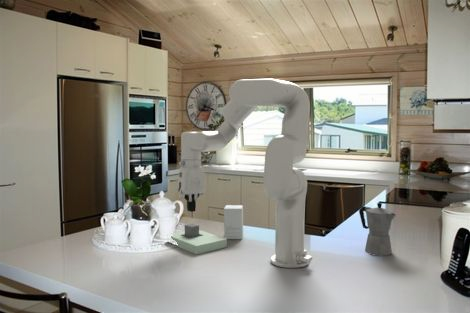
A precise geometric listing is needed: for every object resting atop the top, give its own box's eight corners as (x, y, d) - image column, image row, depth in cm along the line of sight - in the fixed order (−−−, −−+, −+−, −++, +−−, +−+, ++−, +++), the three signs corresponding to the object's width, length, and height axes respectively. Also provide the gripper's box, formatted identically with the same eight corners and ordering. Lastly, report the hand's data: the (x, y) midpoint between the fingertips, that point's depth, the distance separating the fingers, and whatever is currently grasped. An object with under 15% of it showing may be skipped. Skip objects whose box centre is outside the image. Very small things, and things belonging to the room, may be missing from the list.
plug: (199, 243, 160) (199, 225, 160) (191, 245, 158) (191, 227, 157) (191, 240, 163) (191, 223, 163) (184, 242, 161) (184, 224, 160)
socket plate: (226, 246, 155) (226, 239, 155) (196, 254, 146) (196, 246, 146) (196, 236, 170) (196, 228, 170) (166, 242, 161) (166, 234, 161)
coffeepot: (402, 254, 146) (404, 204, 145) (385, 259, 141) (387, 207, 140) (366, 244, 159) (368, 197, 158) (350, 248, 154) (351, 200, 152)
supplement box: (243, 234, 172) (243, 205, 172) (242, 239, 165) (242, 208, 164) (226, 234, 173) (225, 204, 172) (223, 239, 166) (223, 208, 165)
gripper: (179, 165, 151) (180, 215, 152) (212, 163, 160) (212, 210, 162) (169, 164, 156) (169, 212, 158) (201, 162, 166) (201, 207, 167)
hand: (191, 210), depth 160 cm, fingers closed
